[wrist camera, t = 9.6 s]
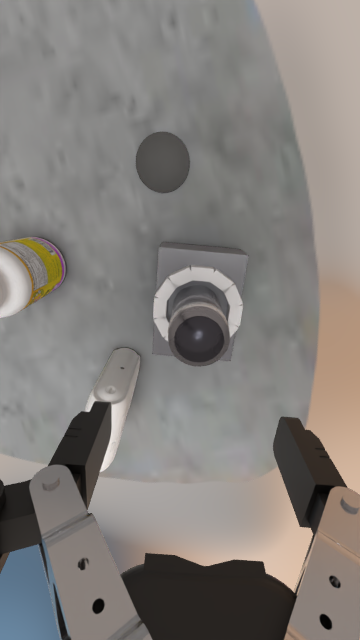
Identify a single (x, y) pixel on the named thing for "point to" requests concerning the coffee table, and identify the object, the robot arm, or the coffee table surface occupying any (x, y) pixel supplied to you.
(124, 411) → the photo printer
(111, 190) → the coffee table surface
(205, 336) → the lens
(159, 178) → the lens cap
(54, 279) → the supplement bottle
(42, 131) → the coffee table surface
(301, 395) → the coffee table surface
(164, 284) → the camera body
